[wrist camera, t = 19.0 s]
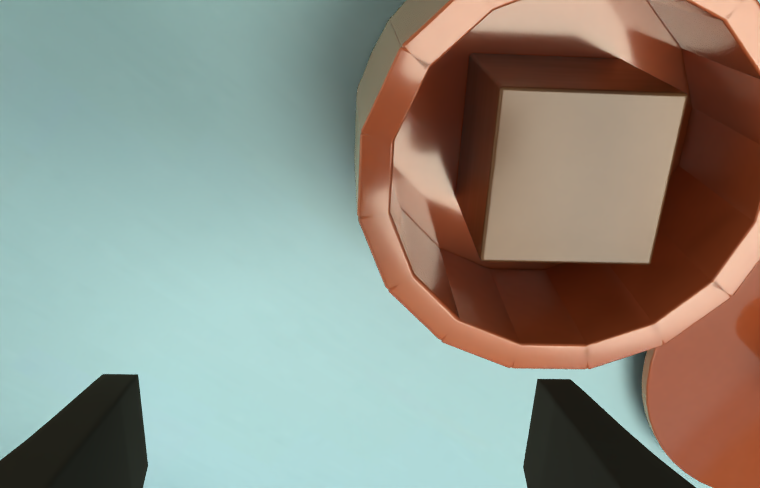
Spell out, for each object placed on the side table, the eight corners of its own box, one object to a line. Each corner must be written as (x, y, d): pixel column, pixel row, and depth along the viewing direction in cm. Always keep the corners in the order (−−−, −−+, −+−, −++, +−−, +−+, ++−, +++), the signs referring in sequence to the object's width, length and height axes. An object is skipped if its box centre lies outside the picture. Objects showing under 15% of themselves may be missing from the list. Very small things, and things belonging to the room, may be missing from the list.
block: (454, 199, 22) (479, 262, 18) (469, 52, 20) (499, 86, 16) (596, 203, 22) (651, 266, 18) (622, 58, 21) (689, 93, 17)
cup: (502, 340, 25) (538, 435, 20) (280, 118, 21) (263, 173, 17) (771, 134, 22) (882, 191, 18) (570, -158, 19) (642, -180, 14)
